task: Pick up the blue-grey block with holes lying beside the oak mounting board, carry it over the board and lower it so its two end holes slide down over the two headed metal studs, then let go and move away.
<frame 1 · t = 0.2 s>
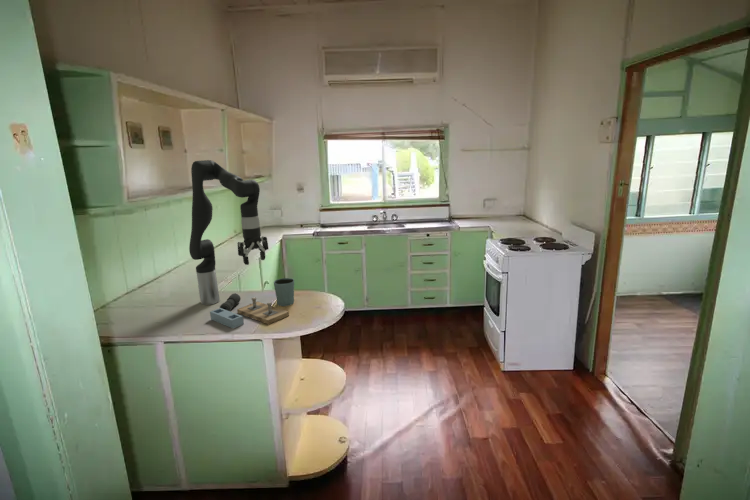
hand: (254, 262, 182), 28 cm above the table, fingers open, 8 cm apart
flashlight: (230, 308, 206), on the table
mount board: (263, 314, 196), on the table
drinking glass: (286, 303, 210), on the table
blue-grey block with holes: (227, 321, 189), on the table
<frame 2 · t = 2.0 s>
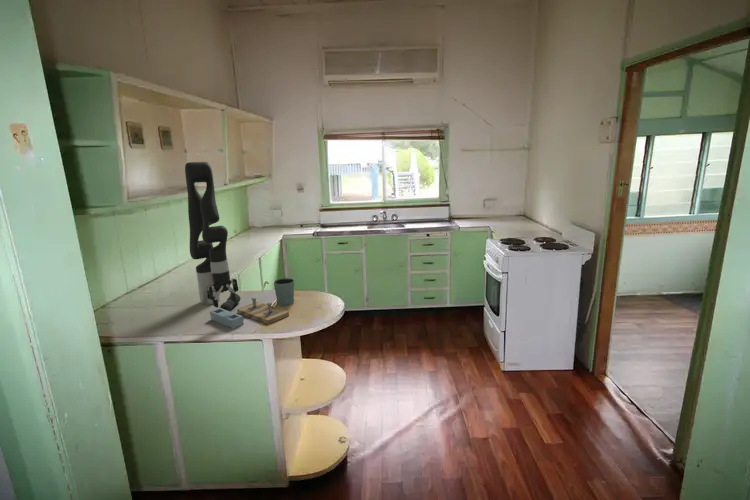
hand: (224, 304, 187), 9 cm above the table, fingers open, 8 cm apart
nothing on the table moved.
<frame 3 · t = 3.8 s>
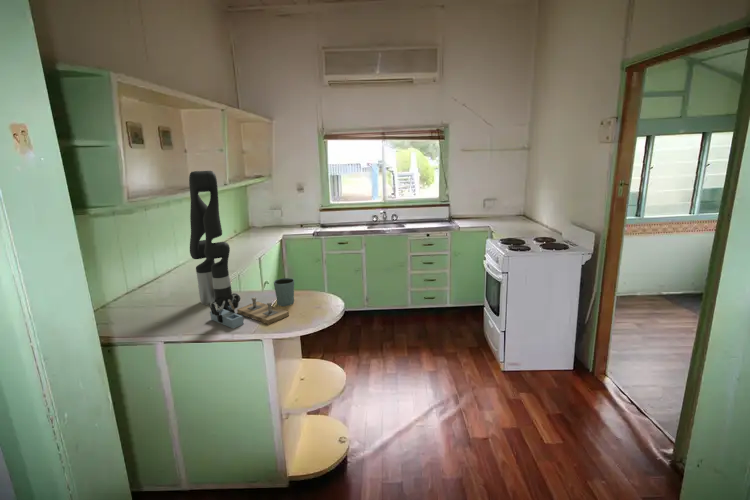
hand: (226, 319, 189), 1 cm above the table, fingers closed on blue-grey block with holes, 5 cm apart
blue-grey block with holes: (227, 321, 189), on the table, touching gripper
everything else where it was.
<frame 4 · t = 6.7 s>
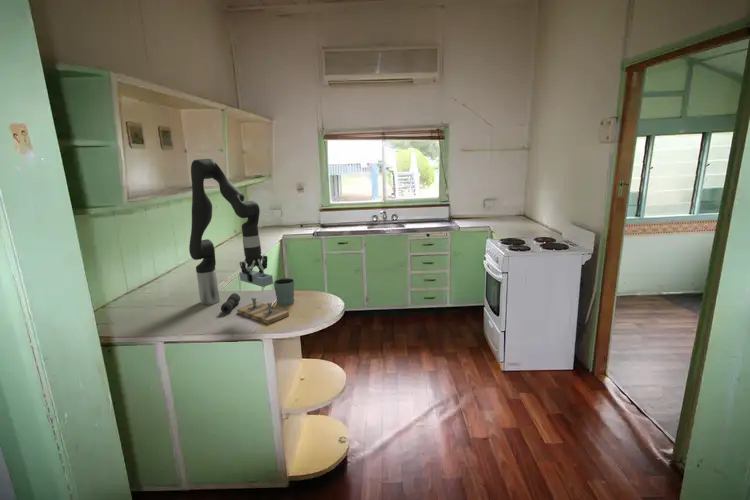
hand: (256, 279, 191), 18 cm above the table, fingers closed on blue-grey block with holes, 5 cm apart
blue-grey block with holes: (256, 281, 191), point 17 cm above the table, touching gripper
everything else where it was.
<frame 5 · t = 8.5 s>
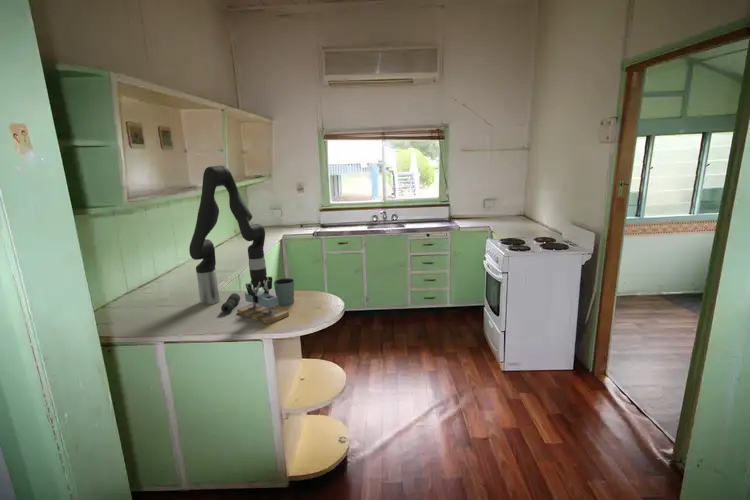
hand: (261, 300, 195), 7 cm above the table, fingers closed on blue-grey block with holes, 5 cm apart
blue-grey block with holes: (261, 302, 195), point 6 cm above the table, touching gripper
everything else where it was.
when the fingers open (4 cm above the table, at t = 9.9 s): blue-grey block with holes drops 1 cm, resting on mount board.
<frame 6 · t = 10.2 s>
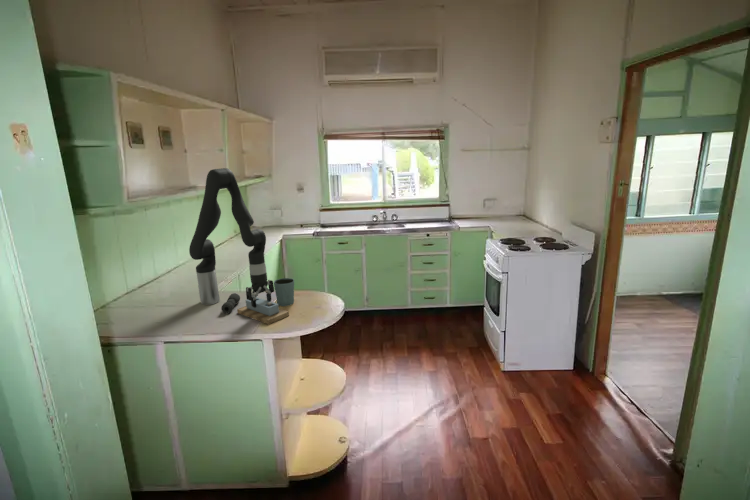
hand: (261, 304, 195), 5 cm above the table, fingers open, 8 cm apart
blue-grey block with holes: (262, 309, 196), point 2 cm above the table, touching mount board
everything else where it was.
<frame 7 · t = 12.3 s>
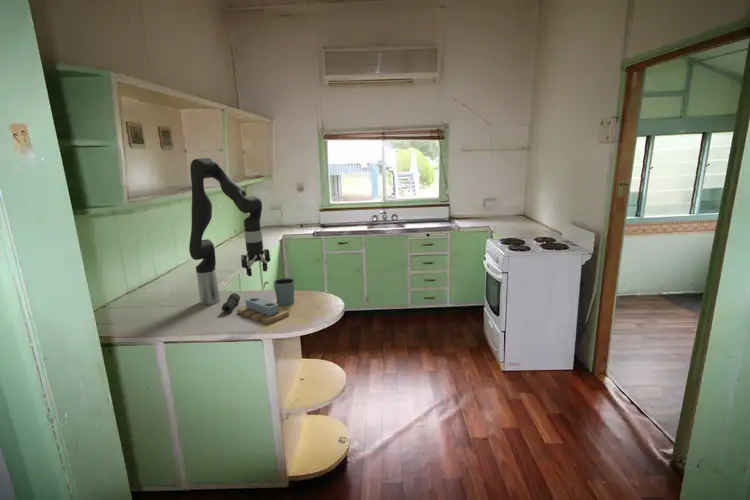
hand: (257, 273, 192), 20 cm above the table, fingers open, 8 cm apart
nothing on the table moved.
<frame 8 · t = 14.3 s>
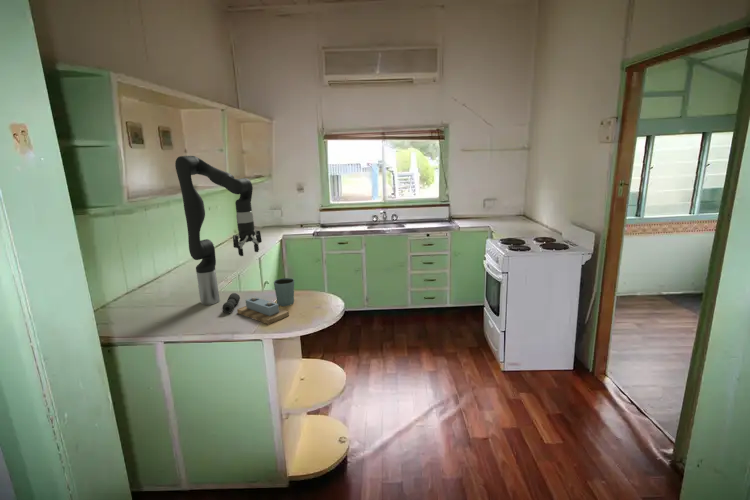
hand: (249, 253, 198), 28 cm above the table, fingers open, 8 cm apart
nothing on the table moved.
at the end: blue-grey block with holes 0.0 cm off-centre on the mount board, point 2.2 cm above the mount board's base; blue-grey block with holes tilted 0°; the gripper is holding nothing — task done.
